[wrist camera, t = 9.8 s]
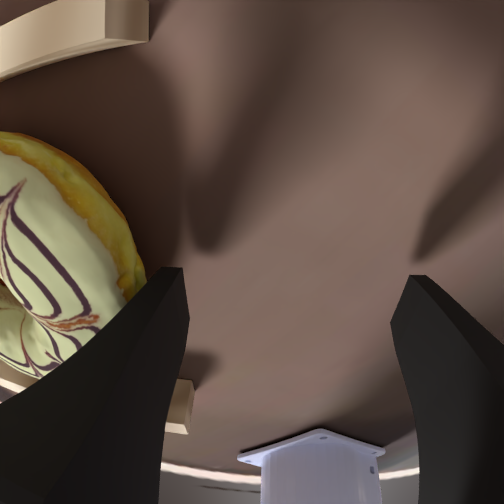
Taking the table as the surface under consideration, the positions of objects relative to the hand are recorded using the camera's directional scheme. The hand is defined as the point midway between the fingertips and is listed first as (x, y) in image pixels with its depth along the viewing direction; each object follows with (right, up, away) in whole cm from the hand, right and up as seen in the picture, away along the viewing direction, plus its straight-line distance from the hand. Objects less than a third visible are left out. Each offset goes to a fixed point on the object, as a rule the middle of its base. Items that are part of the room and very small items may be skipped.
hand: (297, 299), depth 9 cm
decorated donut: (-10, +2, +1) cm, 10 cm away
